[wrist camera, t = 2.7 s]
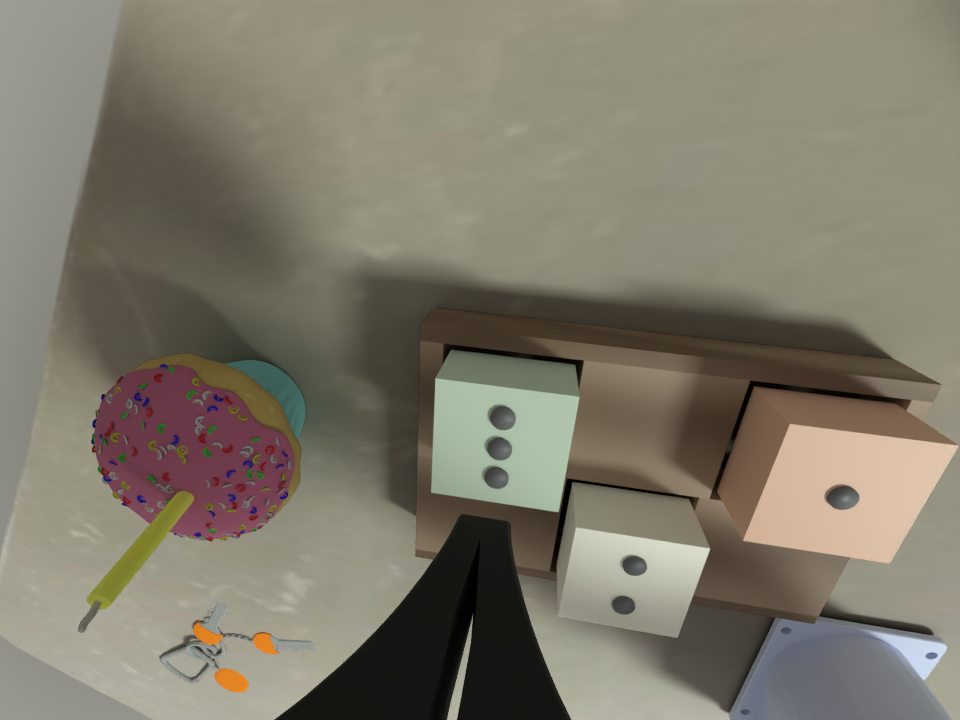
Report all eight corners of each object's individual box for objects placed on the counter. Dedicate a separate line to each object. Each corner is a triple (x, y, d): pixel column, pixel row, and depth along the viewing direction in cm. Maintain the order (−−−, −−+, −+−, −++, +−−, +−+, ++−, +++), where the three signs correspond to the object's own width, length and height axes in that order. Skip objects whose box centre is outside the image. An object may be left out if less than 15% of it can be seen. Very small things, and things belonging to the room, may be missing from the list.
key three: (557, 468, 20) (558, 514, 17) (445, 452, 20) (430, 494, 18) (574, 364, 18) (579, 398, 15) (451, 349, 18) (434, 379, 16)
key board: (788, 581, 23) (814, 624, 21) (427, 522, 25) (415, 556, 23) (894, 359, 18) (942, 385, 16) (434, 307, 20) (420, 324, 18)
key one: (842, 509, 19) (891, 565, 16) (716, 491, 19) (744, 543, 16) (895, 403, 17) (961, 447, 14) (753, 386, 17) (791, 425, 14)
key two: (662, 582, 21) (678, 640, 19) (556, 564, 22) (557, 619, 19) (689, 499, 19) (711, 550, 17) (572, 481, 20) (576, 529, 17)
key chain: (225, 702, 35) (218, 714, 35) (150, 647, 34) (141, 658, 33) (325, 645, 31) (319, 657, 30) (243, 579, 30) (235, 590, 29)
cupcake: (353, 357, 22) (152, 548, 11) (328, 490, 25) (156, 737, 14) (185, 302, 22) (-185, 434, 11) (183, 442, 25) (-99, 650, 14)
